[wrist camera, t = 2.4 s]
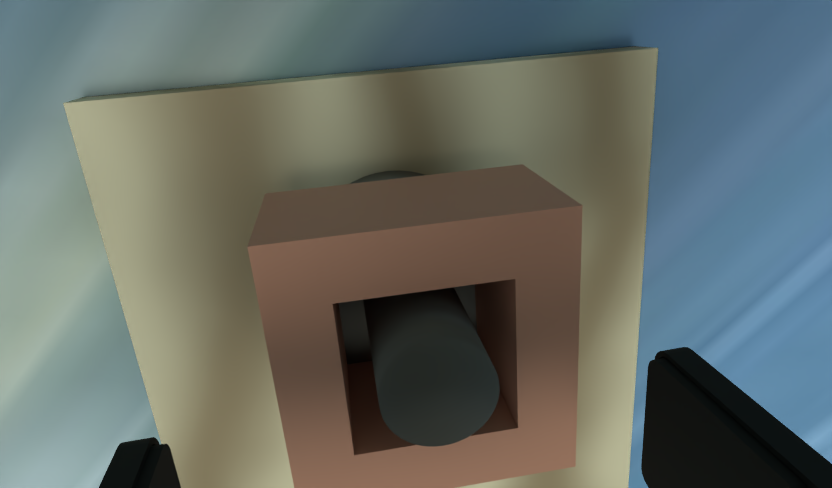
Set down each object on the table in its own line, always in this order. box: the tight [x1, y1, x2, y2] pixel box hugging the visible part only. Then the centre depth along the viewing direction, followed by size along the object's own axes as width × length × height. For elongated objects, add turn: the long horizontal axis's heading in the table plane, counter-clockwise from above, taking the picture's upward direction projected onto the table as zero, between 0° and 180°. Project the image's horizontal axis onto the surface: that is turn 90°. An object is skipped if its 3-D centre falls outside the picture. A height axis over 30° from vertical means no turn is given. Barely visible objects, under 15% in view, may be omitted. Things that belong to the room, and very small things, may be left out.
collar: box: [247, 164, 583, 488], centre depth 15 cm, size 7×7×4 cm
